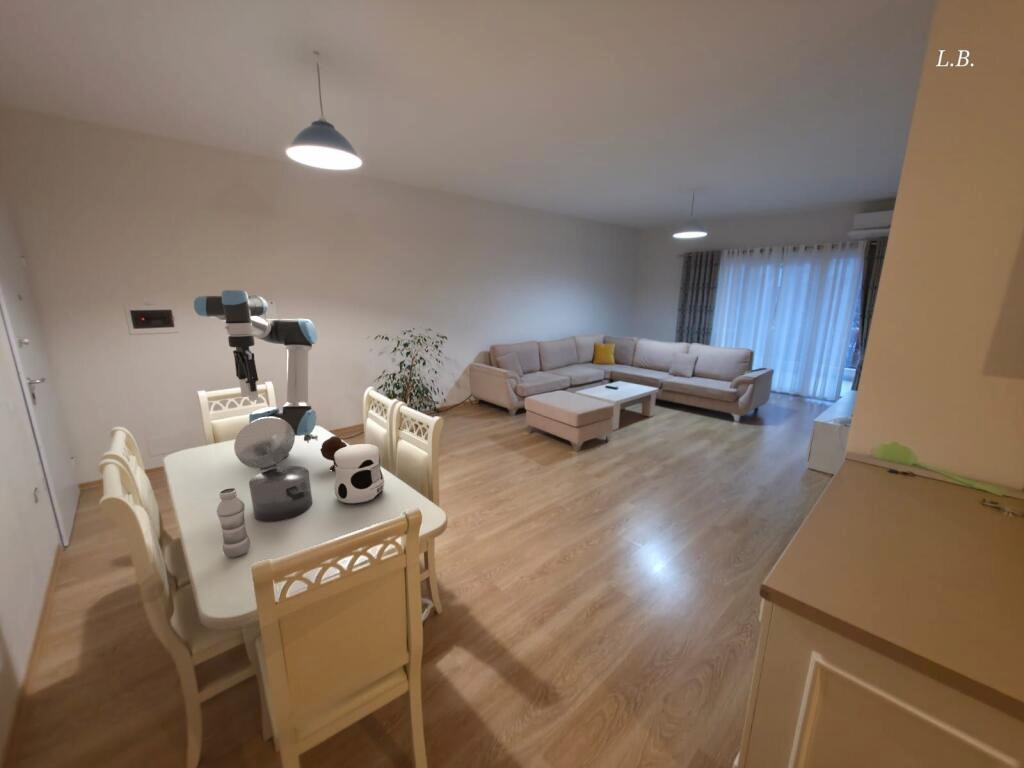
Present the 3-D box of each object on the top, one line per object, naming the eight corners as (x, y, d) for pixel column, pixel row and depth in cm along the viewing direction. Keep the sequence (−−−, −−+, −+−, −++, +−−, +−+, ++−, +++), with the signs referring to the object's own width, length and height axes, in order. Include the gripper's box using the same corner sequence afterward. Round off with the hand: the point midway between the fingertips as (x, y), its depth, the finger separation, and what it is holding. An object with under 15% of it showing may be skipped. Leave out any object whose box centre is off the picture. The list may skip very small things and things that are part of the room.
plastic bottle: (232, 547, 120) (221, 486, 116) (256, 546, 121) (246, 485, 116) (219, 561, 114) (207, 497, 110) (244, 560, 115) (233, 496, 110)
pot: (246, 509, 141) (241, 478, 139) (299, 490, 155) (295, 461, 152) (272, 535, 126) (267, 500, 124) (329, 512, 140) (325, 480, 137)
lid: (238, 478, 139) (234, 473, 141) (296, 460, 153) (291, 456, 156) (233, 425, 132) (228, 421, 135) (293, 412, 147) (288, 409, 149)
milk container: (335, 490, 155) (331, 446, 151) (382, 482, 162) (379, 440, 158) (335, 512, 139) (330, 464, 135) (387, 502, 146) (383, 456, 142)
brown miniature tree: (354, 463, 179) (351, 431, 176) (341, 474, 169) (337, 440, 165) (331, 462, 180) (328, 431, 177) (317, 473, 170) (313, 440, 166)
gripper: (219, 334, 145) (229, 395, 150) (237, 338, 132) (248, 405, 137) (243, 332, 150) (252, 392, 155) (263, 336, 138) (272, 400, 143)
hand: (250, 398), depth 146 cm, fingers open, 7 cm apart
